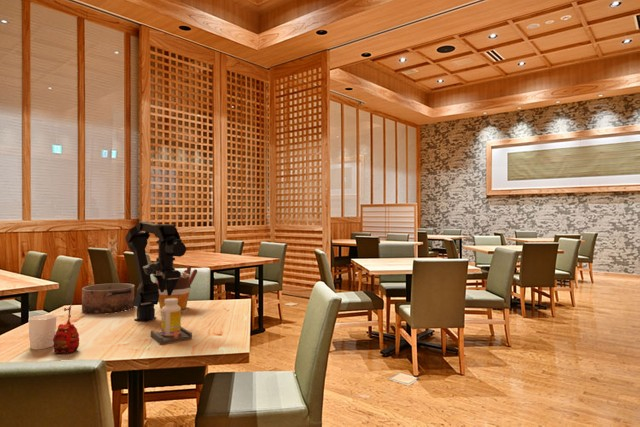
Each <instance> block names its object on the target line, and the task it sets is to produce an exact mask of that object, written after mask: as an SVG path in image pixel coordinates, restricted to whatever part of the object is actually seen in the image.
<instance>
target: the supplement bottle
mask: <svg viewBox="0 0 640 427" xmlns="http://www.w3.org/2000/svg"><path fill="white" fill-rule="evenodd" d="M164 303H165V306H164V307H162V309H161V323H160V324H161V325H160V326H161V327H160V328H161V329H160V330H161V331H160V332H161V334H162V335H163V336H174V332H178V335H179V334H180V332H181V327H182V326H181V325H182V324H181V323H182V322H181V321H182V319H181V317H182V316H181V314H182V310H181V308H180V306H179V305H177V303H178V299H177V298H168V299H165V300H164Z"/></svg>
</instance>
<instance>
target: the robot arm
mask: <svg viewBox="0 0 640 427" xmlns="http://www.w3.org/2000/svg"><path fill="white" fill-rule="evenodd" d="M151 234H153V235H154V237H155V238H158V239H157V241H156V242H155V243H156V244H157V245H158V253H157V254H158V256H157V257H156V258H155V261H154V262H152V263H149V262H148V258H147V252H146V248H147V245H148V240H149V238H150V237H151ZM125 242H126V245H127V247H128V249H129V250H130V251H131V252H132V253H133V259H134V263H135V268H136V272H137V273H136V274H137V278H138V283H139V284H138V285H137V289H136V294H135V296H134V300H133V305H134V307H136V318H134V321H137V322H149V321H153V320H155V319H157V317H156V316H155V315H156V314H155V313H156V312H155V311H156V309H155V305H158V304H159V290H158V286H157V283H155V282H153V281H152V278H151V275H152V277H154V279H155V278H156V279H157V280H158V284H159V288H160V292H164V290H165V287H167V294H168V296H170V295H171V294H172V292H173V290H174V288H175V286H176V284H177V282H178V280H179V279H180V278H181V275H182V273H181V271H180V270H177V269H176V268H175V267H174V261H176V257H177V258H180V257H183V256H185V254H186V252H187V246H186V244H185V243H184V242H183V240H182V238H181V235H180V234H179V232H178V229H177V227H176V225H175V224H173V223H168V224H167V223H164V224H162V223H161V224H160V223H154V222H150V221H137V223H136V225H135V226H133V227H132V228H130V229H129V230H128V231H127V233H126V234H125Z"/></svg>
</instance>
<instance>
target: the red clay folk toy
mask: <svg viewBox="0 0 640 427" xmlns="http://www.w3.org/2000/svg"><path fill="white" fill-rule="evenodd" d="M71 309H72V303H70V306H69V307H68V308H66V307H64V308H63V312H66V311H68V315H67V317H68V319H67V322H66V323H65V324H63V323H60V324H59V325H58V327H57V329H56V330H55V335H54V338H53V342H54V345H53V346H52V348H53V353H55V354H64V355H65V354H72V353H74V352H75V351H77V350H78V349H79V347H80V335H79V331H78V329H77V328H76V326H75V324H73V323H71V320H70V318H71V312H72V310H71Z"/></svg>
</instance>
